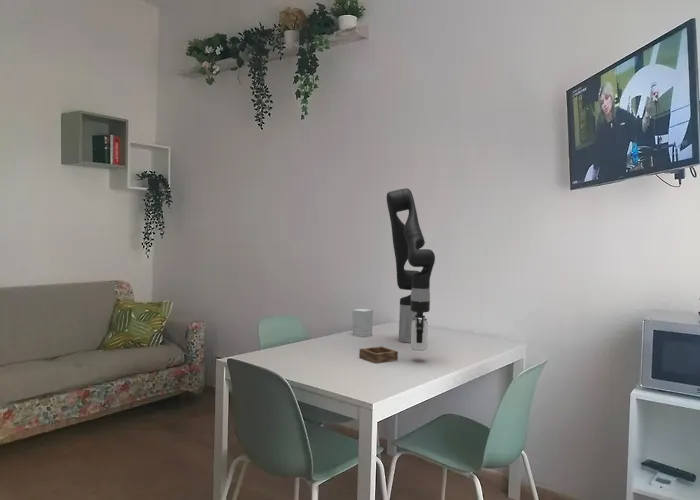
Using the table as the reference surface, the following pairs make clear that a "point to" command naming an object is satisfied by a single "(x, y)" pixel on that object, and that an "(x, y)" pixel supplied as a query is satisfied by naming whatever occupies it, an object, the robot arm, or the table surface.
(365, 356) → the tray
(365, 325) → the supplement box
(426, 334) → the can
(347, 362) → the table surface
